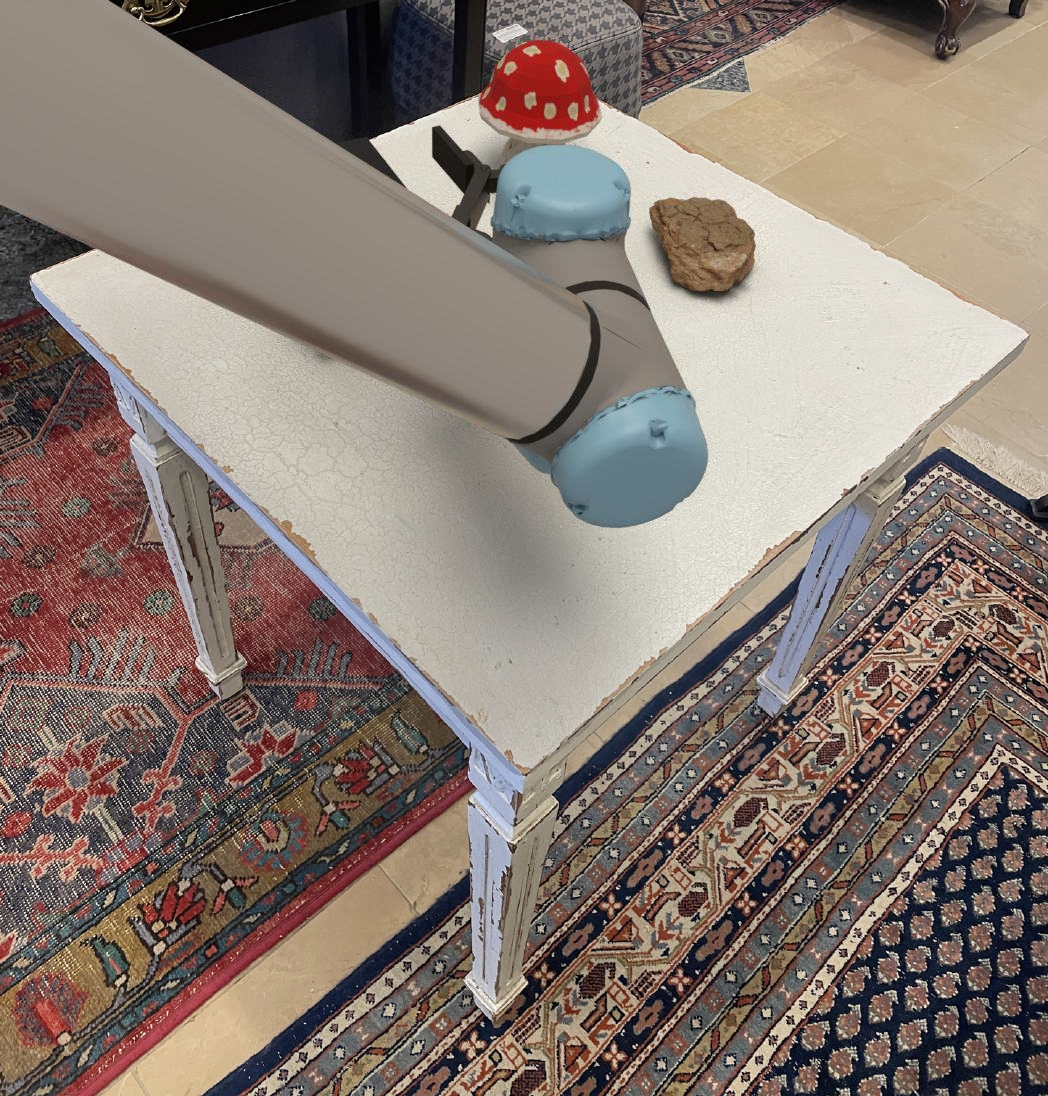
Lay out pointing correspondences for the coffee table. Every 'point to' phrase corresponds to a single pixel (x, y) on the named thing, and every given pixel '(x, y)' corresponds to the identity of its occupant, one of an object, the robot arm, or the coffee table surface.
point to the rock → (704, 242)
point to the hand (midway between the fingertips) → (361, 156)
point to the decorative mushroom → (539, 98)
